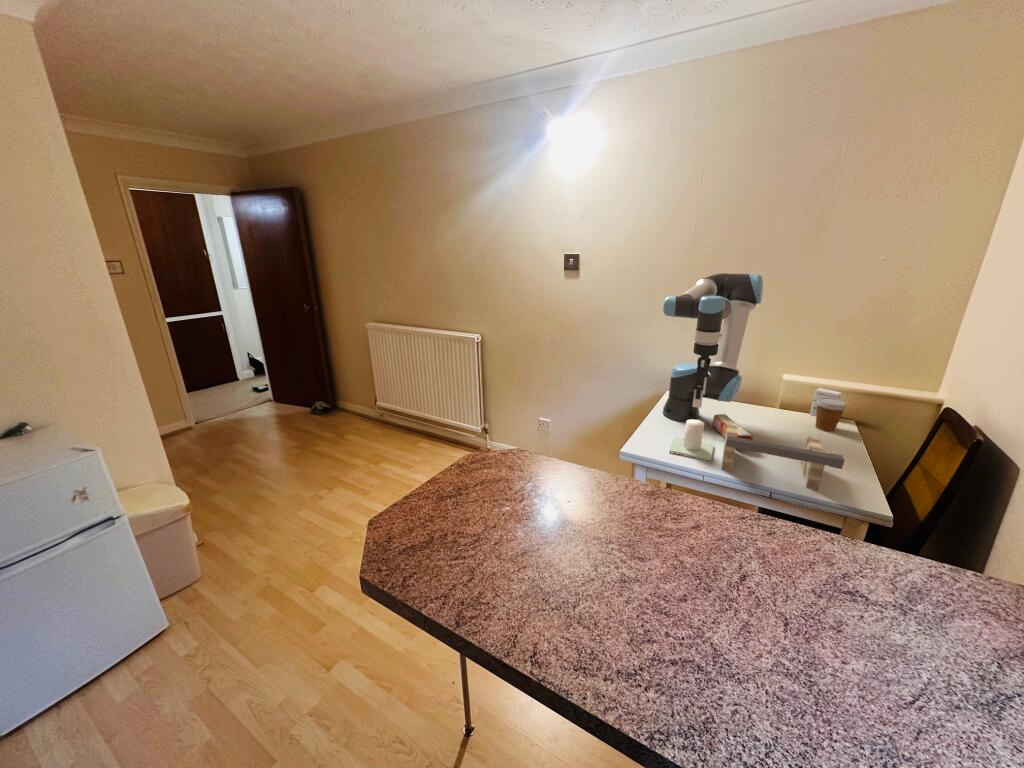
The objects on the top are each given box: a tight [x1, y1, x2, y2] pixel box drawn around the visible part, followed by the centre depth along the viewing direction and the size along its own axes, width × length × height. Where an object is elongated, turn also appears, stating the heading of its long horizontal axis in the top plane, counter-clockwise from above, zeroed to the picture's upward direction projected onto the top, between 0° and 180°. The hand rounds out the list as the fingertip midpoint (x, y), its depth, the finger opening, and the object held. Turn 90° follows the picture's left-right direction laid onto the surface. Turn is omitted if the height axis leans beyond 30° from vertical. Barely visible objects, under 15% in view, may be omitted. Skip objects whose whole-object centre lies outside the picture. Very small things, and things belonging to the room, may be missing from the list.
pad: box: [669, 436, 715, 462], centre depth 150 cm, size 12×14×1 cm
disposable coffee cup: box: [815, 397, 847, 432], centre depth 162 cm, size 10×10×12 cm
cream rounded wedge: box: [683, 419, 705, 451], centre depth 148 cm, size 6×6×10 cm
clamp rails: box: [721, 423, 826, 491], centre depth 136 cm, size 16×27×11 cm, turn 61°
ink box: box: [809, 387, 843, 417], centre depth 173 cm, size 9×5×12 cm, turn 38°
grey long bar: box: [726, 436, 845, 470], centre depth 123 cm, size 3×30×3 cm, turn 61°
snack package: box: [711, 413, 754, 451], centre depth 157 cm, size 21×7×7 cm, turn 177°
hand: (698, 400), depth 144 cm, fingers open, 13 cm apart
